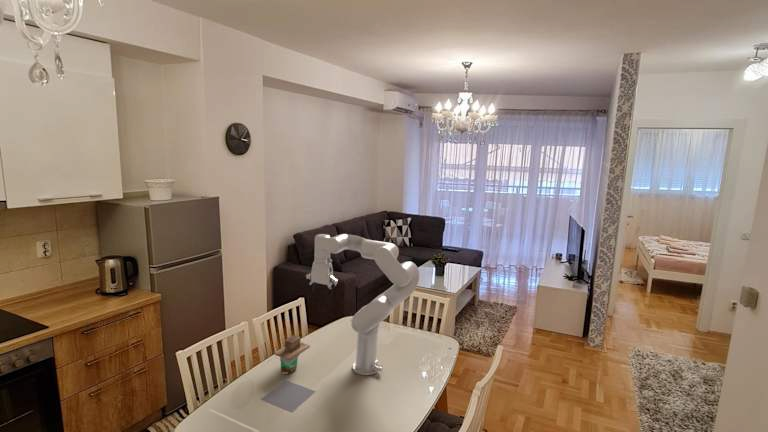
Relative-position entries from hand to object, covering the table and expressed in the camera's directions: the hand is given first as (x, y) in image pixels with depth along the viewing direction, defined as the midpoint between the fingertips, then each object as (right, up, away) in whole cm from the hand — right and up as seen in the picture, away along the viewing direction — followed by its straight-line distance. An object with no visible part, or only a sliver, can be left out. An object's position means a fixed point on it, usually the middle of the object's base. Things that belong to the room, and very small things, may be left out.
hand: (321, 294), depth 197 cm
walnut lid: (-12, -24, -10) cm, 29 cm away
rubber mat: (-9, -37, -28) cm, 47 cm away
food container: (-12, -34, -9) cm, 37 cm away
